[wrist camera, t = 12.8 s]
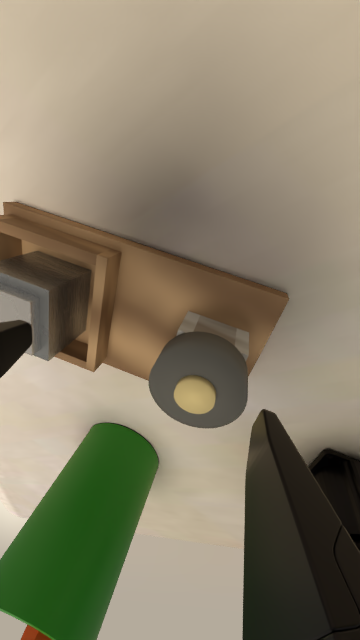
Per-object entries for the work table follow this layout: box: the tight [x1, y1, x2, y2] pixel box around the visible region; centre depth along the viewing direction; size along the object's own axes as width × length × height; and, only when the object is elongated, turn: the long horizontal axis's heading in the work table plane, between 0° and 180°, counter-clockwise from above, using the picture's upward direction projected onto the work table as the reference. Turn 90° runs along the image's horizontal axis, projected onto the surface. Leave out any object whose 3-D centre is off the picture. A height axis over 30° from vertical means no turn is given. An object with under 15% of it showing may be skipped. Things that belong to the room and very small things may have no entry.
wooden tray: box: [0, 202, 289, 381], centre depth 21 cm, size 12×23×4 cm, turn 74°
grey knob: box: [149, 331, 248, 428], centre depth 18 cm, size 6×6×6 cm
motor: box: [0, 423, 158, 640], centre depth 24 cm, size 10×9×20 cm
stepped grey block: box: [0, 251, 92, 361], centre depth 20 cm, size 6×5×6 cm
